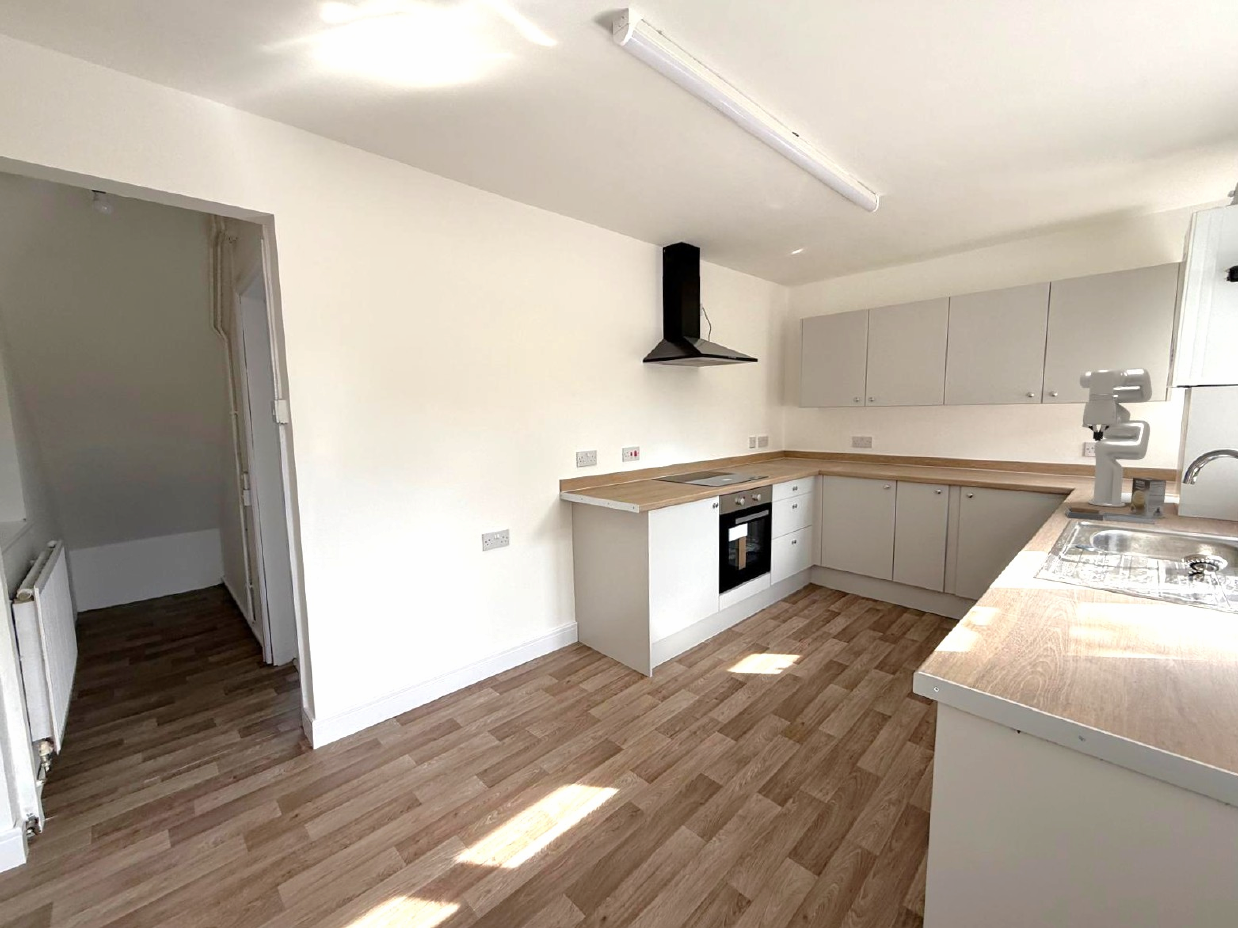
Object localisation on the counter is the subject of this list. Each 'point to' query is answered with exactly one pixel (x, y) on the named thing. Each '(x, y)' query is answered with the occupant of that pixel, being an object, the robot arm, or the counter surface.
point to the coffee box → (1148, 497)
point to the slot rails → (1128, 518)
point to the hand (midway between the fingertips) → (1097, 440)
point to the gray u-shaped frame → (1083, 515)
